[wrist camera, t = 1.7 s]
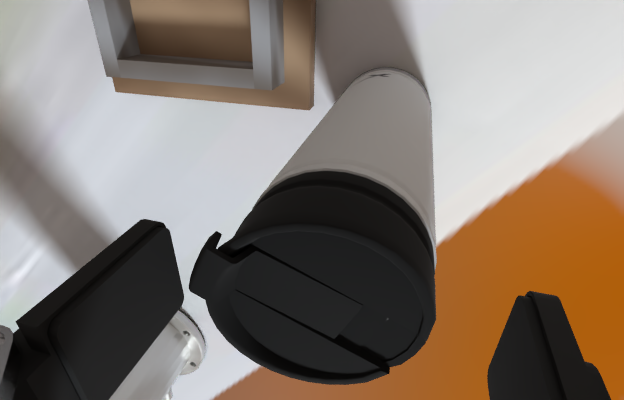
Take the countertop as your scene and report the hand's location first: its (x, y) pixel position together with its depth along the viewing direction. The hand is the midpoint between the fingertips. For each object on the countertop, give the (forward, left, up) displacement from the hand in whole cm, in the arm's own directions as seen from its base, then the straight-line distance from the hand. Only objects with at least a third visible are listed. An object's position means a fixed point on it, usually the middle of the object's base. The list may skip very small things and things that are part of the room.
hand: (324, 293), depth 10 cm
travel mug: (0, 0, -19) cm, 19 cm away
